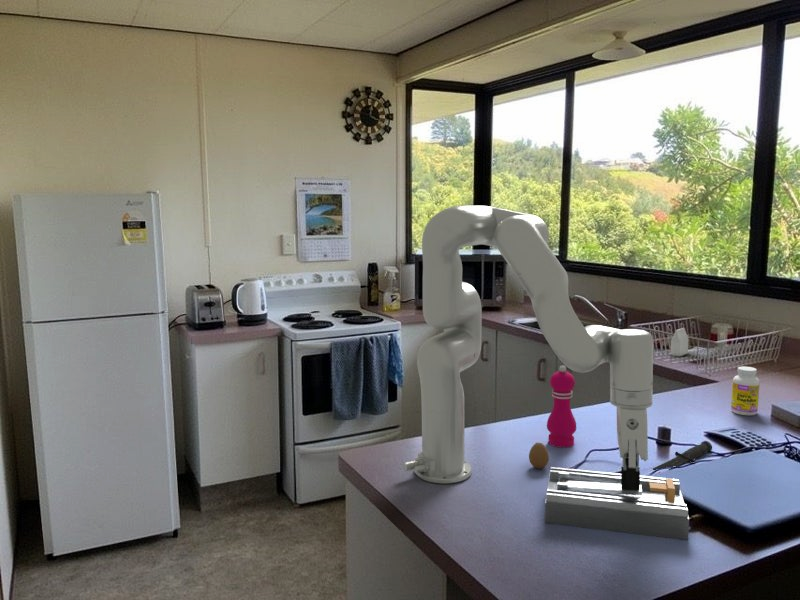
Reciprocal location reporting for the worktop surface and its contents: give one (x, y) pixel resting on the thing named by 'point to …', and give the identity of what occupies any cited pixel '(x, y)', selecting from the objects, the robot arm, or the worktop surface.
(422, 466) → the robot arm
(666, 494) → the latch
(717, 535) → the worktop surface
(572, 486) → the light grey bar
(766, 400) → the worktop surface
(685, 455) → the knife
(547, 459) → the egg
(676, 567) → the worktop surface
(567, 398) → the pepper mill
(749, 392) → the supplement bottle
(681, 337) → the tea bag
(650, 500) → the grey ridged tray
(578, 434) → the worktop surface
